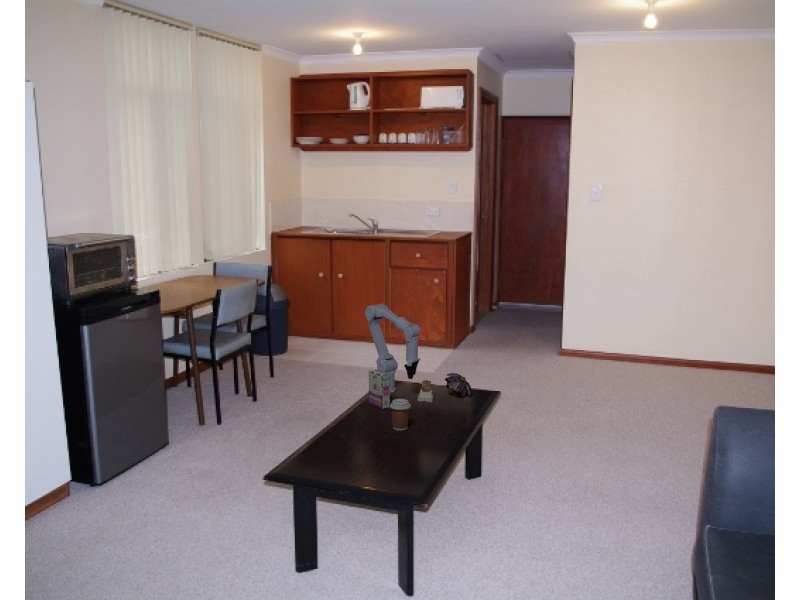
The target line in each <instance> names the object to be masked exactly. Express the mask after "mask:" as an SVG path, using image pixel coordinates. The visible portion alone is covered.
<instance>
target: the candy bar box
mask: <svg viewBox="0 0 800 600" xmlns="http://www.w3.org/2000/svg"><path fill="white" fill-rule="evenodd" d="M368 404H369V405H371V406H373V405H374V406H373V407H375V406H376V407H375V408H377V409H381V410H386V409H391V408H390V404H391V392H390V374H388V373H385V372H382V371H379V370H377V369H371V370H368ZM385 408H386V409H385Z"/></svg>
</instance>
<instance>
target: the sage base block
mask: <svg viewBox="0 0 800 600" xmlns="http://www.w3.org/2000/svg"><path fill="white" fill-rule="evenodd" d="M434 398H435V394H434V393H432V397H431V398H429V397H420V392H419V394H418V396H417V402H422V401H426V402H427V403H433V400H434Z"/></svg>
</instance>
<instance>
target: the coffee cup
mask: <svg viewBox="0 0 800 600" xmlns="http://www.w3.org/2000/svg"><path fill="white" fill-rule="evenodd" d="M411 407H412V405H411V403H410V402H409V400H408V399H405V398H395V399H393V400H392V401H391V402H390V408H389V409H390V410H391V420H392V422H391V423H392V429H393V430H395V431H405V430H407V429H408V427H409V426H408V425H409V415H410V408H411Z"/></svg>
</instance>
